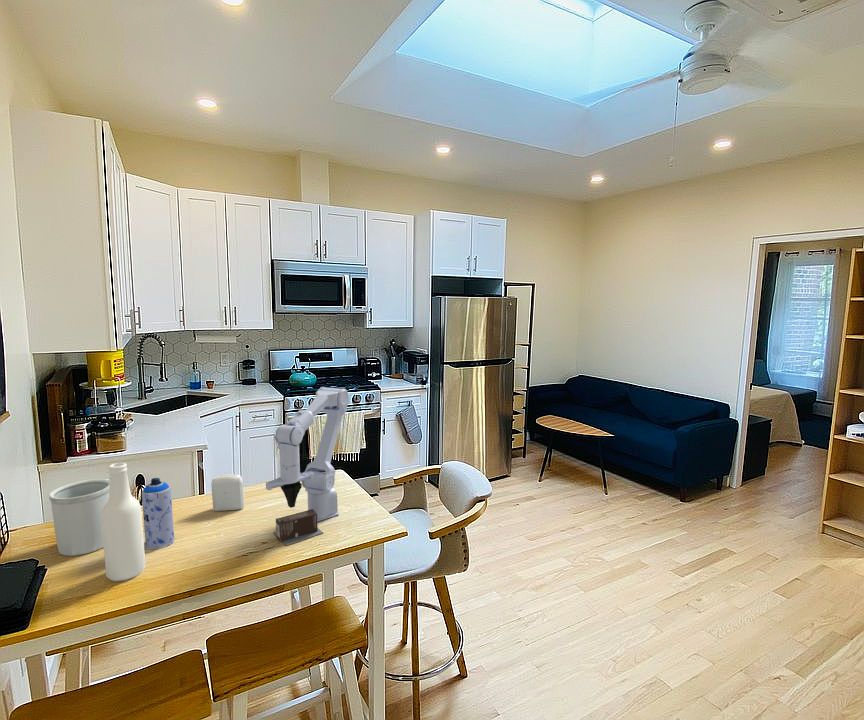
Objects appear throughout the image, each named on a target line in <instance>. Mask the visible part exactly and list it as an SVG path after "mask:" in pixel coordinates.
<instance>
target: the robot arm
mask: <svg viewBox="0 0 864 720" xmlns="http://www.w3.org/2000/svg"><path fill="white" fill-rule="evenodd" d="M349 402H350V396H349V393H348V390H347V389H346V388H336V387H326V386H321V387H320V388H319V389H318V390H316V392H315V398H314V399H313V400H312V402H311V403H310V404H309V405H308V406H307V407H306V409H300V410H298V411H297V413H296V414H295V415H294V416H293V417H292V418H291V419H290V420H289V421H288V422H287V423H286V424H281V425H280V426H278V427H277V428H276V429H275V435H274V440H275V442H276V443H277V444H276V445H277V448H278V450H279V468H280V472H279V473H280V476H279V477H277V478H274V479H272V480H270V481H267V482H265V490H267V491H271V490H273V489H276V488H280V489H281V491H282V492H283V494H284V497H285V499H286V502H287V507H288V508H290V509H291V508H294V507H295V506H296V502H297V498H298V495H299V494H300V491H301V489H302V488H303V489H305V492H307V493H306V494H307V510H311V509H313V510H314V511H315V512H316V513H317V523H318V522H320V521H323V520H327V519H330V518H332V517H336V516H339V514H340V513H339V511H338V505H339V504H338V494H337V493H338V492H337V490H336V488H335V487H334V486H335V481H336V479H335V478H336V473H337V471H336V470H335V468H334V466H333V465H332V464H331V463H332V458H333V454H334V450H335V448H336V447H335V446H336V444H337V440H338V436H339V432H340V429H341V425H342V424H341V423H342V421H343V417H344V415H345V414H346V412H347V409H348V406H349ZM321 411H322V412H323V413H325V415H326V421H325V423H324V427H323V430H322V435H321V438H320V442H319V444H318V449H317V452H316V455H315V459H314V460H312V461H311V462H309V463H308V464H306V468H305V470H304V471H303V472H301V468H300V467H301V465H300V463H301V462H300V460H301V459H300V444H301V443H302V441H303V437H304V436H305V434H306V431H307V430H308V429H309V428H310V427H311V426H312V424H313V423H314V417H316V416H317V415H318V414H319V413H320V412H321Z"/></svg>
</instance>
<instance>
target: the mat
mask: <svg viewBox="0 0 864 720" xmlns="http://www.w3.org/2000/svg"><path fill="white" fill-rule="evenodd" d="M273 534H274V535H275V536H276V531H273ZM323 534H324V532H323V530H321V529H320V528H319V527H318V531H316V532H312V533H309V534H305V535H302V536H299V537H295V538H292V539H288V540H285V541H281V542H282V543H283V544H284V545H285V546H286V547H288V546H291V545H293V544H296V543H299V542H303V541H306V540H308V539H312V538H314V537H317V536H321V535H323Z"/></svg>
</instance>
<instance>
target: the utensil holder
mask: <svg viewBox="0 0 864 720" xmlns="http://www.w3.org/2000/svg"><path fill="white" fill-rule="evenodd" d="M48 499H49V501H50V503H51V511H52V517H53V518H52V519H53V528H54V534H55V541H56V546H57V550H58V553H59V554H60V555H62V556H65V557H69V556H70V557H73V556H74V557H75V556H80V555H81V556H82V555H85V554H89V553H90V554H91V553H93V552H95V551H99V550H102V549H104V545H103V533H102V522H101V513H102V509H103V507H104V506H105V504H106V503H107V502H108V500H109V479H105V478H94V479H85V480H80V481H75V482H71V483H68V484H64V485H62V486H60V487H58V488H55V489H54V490H52V491H51V492H49V494H48Z"/></svg>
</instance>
